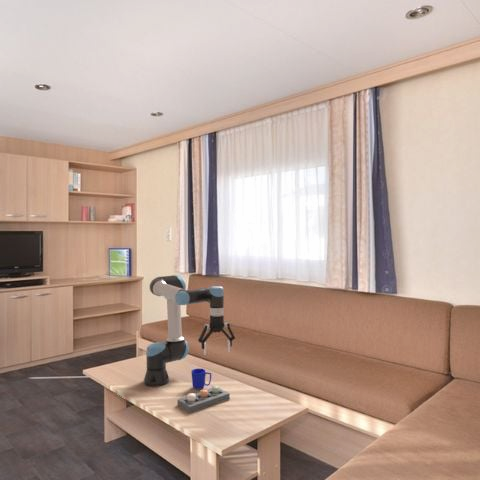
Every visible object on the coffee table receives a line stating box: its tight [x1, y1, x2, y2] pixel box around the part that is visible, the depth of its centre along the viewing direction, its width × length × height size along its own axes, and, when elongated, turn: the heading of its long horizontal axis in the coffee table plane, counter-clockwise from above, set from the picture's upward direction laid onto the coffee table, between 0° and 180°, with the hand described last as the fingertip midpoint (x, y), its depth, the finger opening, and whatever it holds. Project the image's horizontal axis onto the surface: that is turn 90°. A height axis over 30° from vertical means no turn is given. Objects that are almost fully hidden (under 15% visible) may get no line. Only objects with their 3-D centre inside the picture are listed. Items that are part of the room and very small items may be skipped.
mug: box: [190, 368, 212, 390], centre depth 231 cm, size 8×12×10 cm
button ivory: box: [186, 392, 196, 402], centre depth 207 cm, size 4×4×3 cm
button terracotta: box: [199, 388, 209, 398], centre depth 212 cm, size 4×4×3 cm
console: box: [177, 388, 231, 413], centre depth 212 cm, size 12×26×3 cm, turn 130°
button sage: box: [211, 385, 221, 394], centre depth 217 cm, size 4×4×3 cm
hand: (216, 353), depth 213 cm, fingers open, 13 cm apart
